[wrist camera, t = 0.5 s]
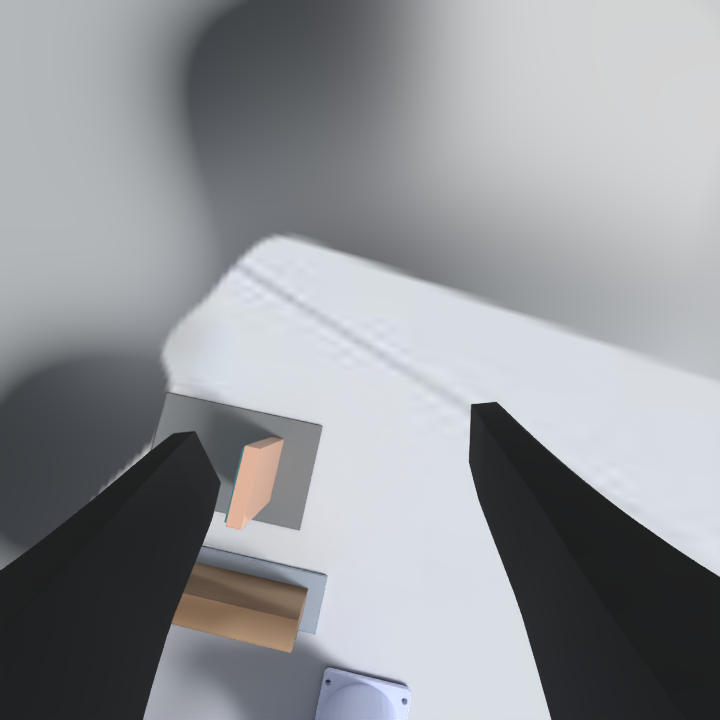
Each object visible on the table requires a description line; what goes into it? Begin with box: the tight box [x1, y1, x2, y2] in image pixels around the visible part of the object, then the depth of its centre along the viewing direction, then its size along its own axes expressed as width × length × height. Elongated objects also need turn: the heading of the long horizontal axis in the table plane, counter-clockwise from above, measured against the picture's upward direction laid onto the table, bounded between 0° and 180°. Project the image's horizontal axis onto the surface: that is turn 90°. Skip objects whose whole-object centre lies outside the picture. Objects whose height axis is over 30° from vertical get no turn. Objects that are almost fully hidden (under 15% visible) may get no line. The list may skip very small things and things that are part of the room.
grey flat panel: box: [196, 546, 327, 634], centre depth 33 cm, size 5×19×1 cm, turn 78°
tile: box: [225, 437, 284, 530], centre depth 31 cm, size 6×1×8 cm, turn 168°
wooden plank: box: [171, 562, 308, 653], centre depth 31 cm, size 2×16×5 cm, turn 78°
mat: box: [152, 393, 322, 530], centre depth 35 cm, size 10×16×1 cm, turn 78°
